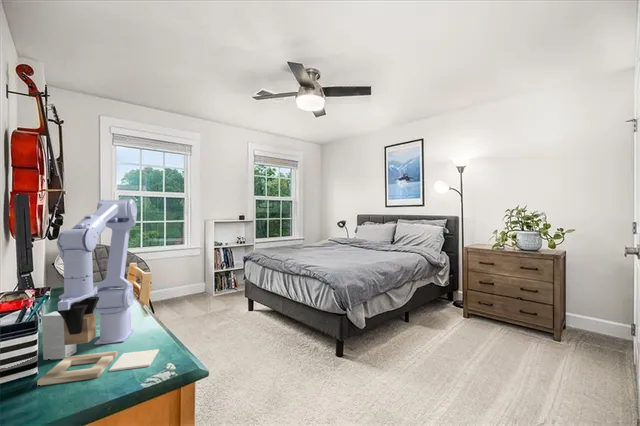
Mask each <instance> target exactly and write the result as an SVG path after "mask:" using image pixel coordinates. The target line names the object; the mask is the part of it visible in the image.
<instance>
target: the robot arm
mask: <svg viewBox="0 0 640 426" xmlns="http://www.w3.org/2000/svg"><path fill="white" fill-rule="evenodd" d="M137 207H138V206H137V202H135V200H134V199H132V198H131V199H100V200H99V201H98V202H97V205H96V211H95V212H94V214H85V216H84V217H83V218H82V219H81V220H80V221H79V222H78V223H76V224H75V225H74V226H73V227H71V228H69V229H68V228H66V229H64V230H62V231H60V233H59V234H58V236H57V241H56V246H57V249H58V251H59V253H60V254H59V255H60V257H59V258H60V259H61V260H63V286H64V287H63V288H64V289H63V290H64V293H63V294H60V295H59V296H58V299H60V301H58V302H57V309H56V310H57V311H58V313H59V314H60V315H61V316H62V317H63V319H64V321H65V323H66V325H67V328H68V331H69V333H70V335H72V334H80V333H81V330H82V324H83V317H84V314H94V312H95V311H96V314H99V339H97V340H96V341H95V342H94V343H93V344H94V345H105V344H116V343H122V342H125V341H126V340H127V339H128V338H129V337H130V336H131V335H132V334H133V332H135V328H132V318H131V317H132V314H131V309H129V308H130V307H131V306H132V305H133V302H134V285H133V283H132V282H131V281H129V280H128V279H127V278H125V274H126V264H127V256H128V249H129V240H130V231H131V228H133V227H135V226H136V224H137V215H138V208H137ZM106 228H108V229H111V237H110V245H109V250H108V251H109V253H108V259H107V267H106V275H105V278H104V279H103V280H102V281H100V282H99V283H97V284H96V285H95V286H94V280H93V279H94V270H93V267H94V266H93V251H94V250H95V249H96V247H97V243H98V240H99V236H100V235H101V234H102V233H103V232H104V231H105V229H106Z"/></svg>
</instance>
